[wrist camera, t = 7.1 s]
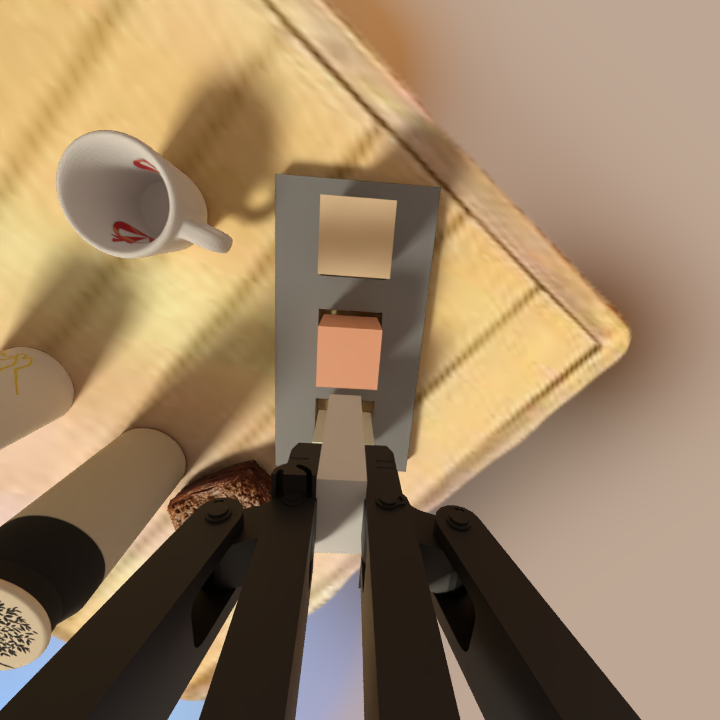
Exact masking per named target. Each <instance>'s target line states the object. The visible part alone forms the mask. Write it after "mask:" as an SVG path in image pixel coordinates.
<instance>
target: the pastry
mask: <svg viewBox="0 0 720 720" xmlns="http://www.w3.org/2000/svg"><path fill="white" fill-rule="evenodd" d="M223 497H224V498H233V499H235V500H238V501H239V502H240V503H241V504H242V505H243V509H245V508H250V507H255V506H259V505H262V504H264V503H266V502H268V501H270V500H271V498H272V479H271V477H270V475H269V474H268V473H267V472H266V471H265V470H264V469H262V468H261V467H260V466H259V465H258V464H257V463H256V461H254V460H252V461H249V462H244V463H240V464H237V465H233V466H231V467H228V468H225V469H223V470H220V471H219V472H217V473H215V474H212V475H209V476H205V477H203V478H202V479H200V480H198V481H196V482H195V483H192V484H191V485H189V486H188V487H186V488H185V489H183V490H182V491H180V492H179V493H178V494H177V495H176V497H175V498H173V499H172V500H170V503H169V505H168V510H167V511H168V512H169V514H170V515H171V516H170V518H171V520H173V521H172V523H173V524H174V528H175V530H177V529H178V528H179V527H180V526H181V525H182V524H183V523H184V522H185V521H186V520H187V519H188V518H189V517H190V516H191V515H192V514H193V513H194V512H195V511H196V510H197V509H198V508H199V507H200V506H201V505H203V504H204V503H206V502H208V501H211V500H213V499H217V498H223Z"/></svg>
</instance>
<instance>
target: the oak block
mask: <svg viewBox="0 0 720 720" xmlns="http://www.w3.org/2000/svg"><path fill="white" fill-rule="evenodd" d="M396 206H397V200H384V199H372V198H359V197H347V196H334V195H322V194H320V218H319V248H318V274H327V275H341V276H356V277H370V278H384V279H390V271H391V261H392V250H393V239H394V228H395V217H396Z"/></svg>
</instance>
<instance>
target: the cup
mask: <svg viewBox="0 0 720 720" xmlns="http://www.w3.org/2000/svg"><path fill="white" fill-rule="evenodd" d="M56 187H57V194H58V199H59V202H60V205H61V208H62V210H63V212H64V214H65V216H66V218H67V220H68V221H69V223H70V224H71V226H72V227H73V228H74V230H75V231H76V232H77V233H78V234H79V235H80V236H81V237H82V238H83V239H84V240H85V241H86V242H88V243H89V244H90V245H92V246H93V247H95V248H96V249H98V250H100V251H102V252H104V253H107V254H109V255H112V256H116V257H121V258H142V257H147V256H153V255H158V254H164V253H170V252H175V251H180V250H183V249H186V248H188V247H190V246H192V245H193V244H196V245H198V246H200V247H202V248H205V249H207V250H210V251H213V252H217V253H227V252H228V251H229V250H230V248H231V246H232V238H231V237H230V236H229V235H227V234H226V233H224V232H222V231H220V230H218V229H216V228H214V227H212V226H210V225H209V224H207V207H206V203H205V200H204V198H203V196H202V194H201V192H200V190H199V189H198V187H197V186H196V185H195V184H194V182H193V181H192V180H191V179H190V178H189V177H187V176H186V175H185V174H184V173H183V172H181V171H180V170H179V169H178V168H176V167H175V166H174V165H172V164H171V163H170V162H169V161H167V160H166V159H165V158H163V157H162V156H161V155H160V154H158V153H157V152H156V151H154V150H153V149H152V148H151V147H149V146H148V145H147V144H145V143H144V142H142V141H140V140H139V139H137V138H135V137H133V136H131V135H128V134H125V133H122V132H118V131H112V130H99V131H93V132H89V133H87V134H84V135H82V136H80V137H79V138H77V139H75V140H74V141H73V142H72V143H71V144H70V145H69V146H68V147H67V149H66V150H65V152H64V153H63V155H62V157H61V159H60V162H59V165H58V169H57V176H56Z"/></svg>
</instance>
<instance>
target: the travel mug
mask: <svg viewBox="0 0 720 720" xmlns="http://www.w3.org/2000/svg"><path fill="white" fill-rule="evenodd" d="M185 470H186V460H185V456H184V453H183V451H182V450H181V448H180V447H179V445H178V444H177V443H176V442H175V441H174V440H173V439H172V438H171V437H169V436H168V435H166V434H164V433H162V432H160V431H157V430H154V429H149V428H137V429H132V430H129V431H126V432H124V433H123V434H121V435H120V436H119V437H117V438H116V439H115V440H114V441H112V442H111V443H110V444H108V445H107V446H106V447H104V448H103V449H102V450H100V451H99V452H98V453H96V454H95V455H94V456H93V457H91V458H90V459H89V460H87V461H86V462H85V463H83V464H82V465H81V466H79V467H78V468H77V469H76V470H74V471H73V472H72V473H70V474H69V475H68V476H66V477H65V478H64V479H62V480H61V481H60V482H59V483H57V484H56V485H55V486H53V487H52V488H51V489H49V490H48V491H47V492H45V493H44V494H43V495H42V496H40V497H39V498H38V499H36V500H35V501H34V502H32V503H31V504H30V505H28V506H27V507H26V508H24V509H23V510H22V511H21V512H19V513H18V514H17V515H15V516H14V517H13V518H11V519H10V520H9V521H7V522H6V523H5V524H4V525H2V526H1V527H0V670H10V669H15V668H19V667H22V666H24V665H27V664H29V663H31V662H32V661H34V660H35V659H37V658H38V657H39V656H40V655H41V654H42V653H43V652H44V651H45V649H46V648H47V646H48V644H49V641H50V638H51V633H52V631H53V630H54V628H55V627H56V625H57V624H58V623H60V622H62V621H64V620H65V619H67V618H69V617H70V616H72V615H74V614H75V613H77V612H78V611H79V610H80V609H82V608H83V606H84V605H85V604H86V603H87V601H88V600H89V599H90V597H91V596H92V595H93V594H94V592H95V591H96V590H97V588H98V587H99V586H100V584H101V583H102V582H103V581H104V579H105V578H106V577H107V575H108V574H109V573H110V571H111V570H112V569H113V568H114V566H115V565H116V564H117V562H118V561H119V560H120V558H121V557H122V556H123V555H124V553H125V552H126V551H127V549H128V548H129V547H130V545H131V544H132V543H133V542H134V540H135V539H136V538H137V536H138V535H139V534H140V533H141V531H142V530H143V529H144V527H145V526H146V525H147V523H148V522H149V521H150V520H151V518H152V517H153V516H154V514H155V513H156V512H157V510H158V509H159V508H160V507H161V505H162V504H163V503H164V501H165V500H166V499H167V497H168V496H169V495H170V494H171V492H172V491H173V490H174V488H175V487H176V486H177V484H178V483H179V482H180V481H181V479H182V478H183V476H184V473H185Z"/></svg>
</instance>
